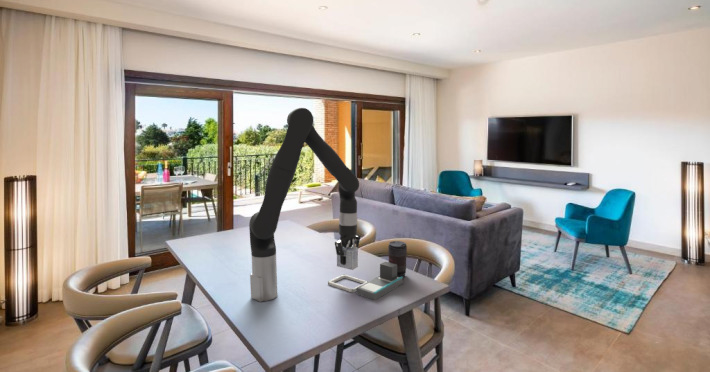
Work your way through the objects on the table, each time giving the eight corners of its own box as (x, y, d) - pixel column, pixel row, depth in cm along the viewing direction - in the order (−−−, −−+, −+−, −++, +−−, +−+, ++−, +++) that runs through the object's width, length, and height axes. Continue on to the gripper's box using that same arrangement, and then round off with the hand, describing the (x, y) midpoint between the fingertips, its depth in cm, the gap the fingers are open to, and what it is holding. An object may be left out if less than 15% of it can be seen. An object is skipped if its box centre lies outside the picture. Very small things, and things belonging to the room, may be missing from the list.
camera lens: (385, 277, 162) (385, 244, 160) (392, 271, 169) (392, 239, 167) (402, 280, 158) (403, 247, 156) (408, 274, 165) (409, 242, 163)
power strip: (375, 300, 139) (375, 278, 138) (356, 293, 145) (356, 273, 144) (402, 283, 155) (402, 264, 154) (384, 278, 160) (385, 259, 159)
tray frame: (352, 292, 146) (352, 290, 146) (327, 284, 154) (327, 281, 154) (368, 284, 154) (368, 281, 154) (344, 276, 162) (344, 274, 162)
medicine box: (358, 267, 153) (358, 247, 151) (352, 270, 149) (352, 250, 148) (342, 263, 157) (342, 244, 156) (336, 266, 153) (336, 246, 152)
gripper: (352, 218, 158) (351, 256, 160) (329, 224, 147) (328, 265, 149) (365, 221, 154) (364, 260, 156) (343, 227, 143) (342, 269, 145)
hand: (347, 262), depth 153 cm, fingers closed on medicine box, 4 cm apart
